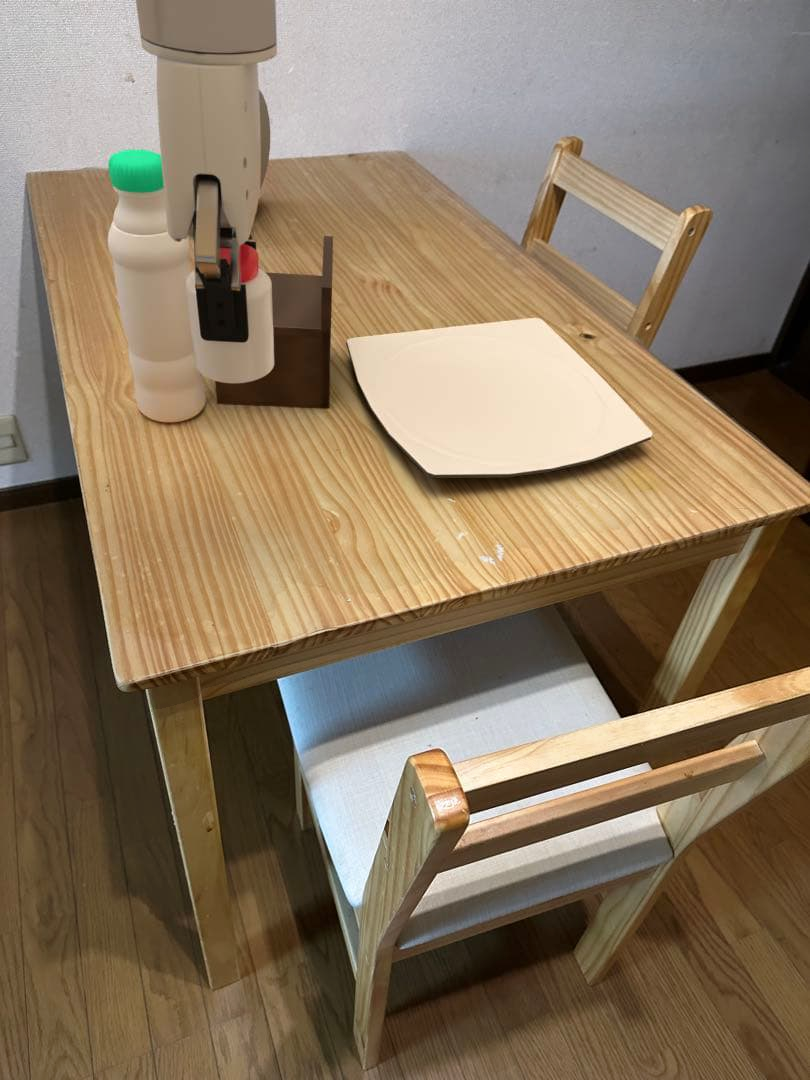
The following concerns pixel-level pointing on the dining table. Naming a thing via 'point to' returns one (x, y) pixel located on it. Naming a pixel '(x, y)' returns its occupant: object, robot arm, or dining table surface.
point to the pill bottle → (258, 351)
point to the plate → (491, 399)
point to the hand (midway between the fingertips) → (231, 313)
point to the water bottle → (153, 291)
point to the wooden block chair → (294, 344)
